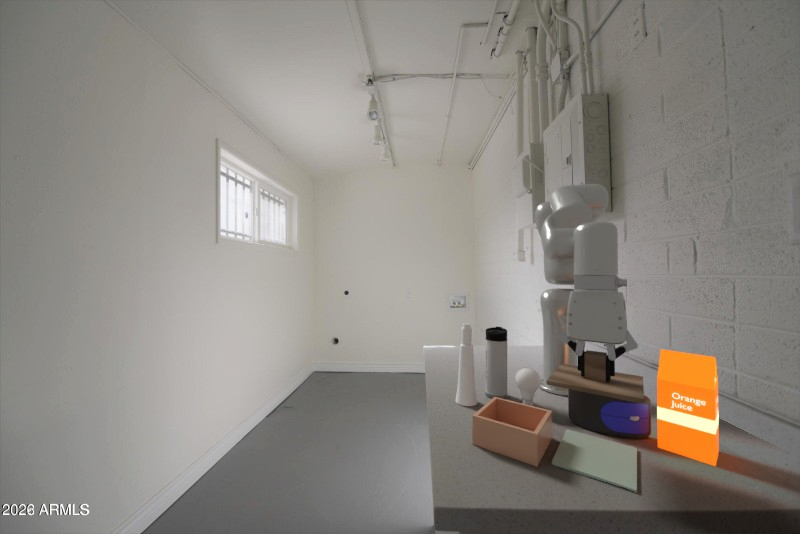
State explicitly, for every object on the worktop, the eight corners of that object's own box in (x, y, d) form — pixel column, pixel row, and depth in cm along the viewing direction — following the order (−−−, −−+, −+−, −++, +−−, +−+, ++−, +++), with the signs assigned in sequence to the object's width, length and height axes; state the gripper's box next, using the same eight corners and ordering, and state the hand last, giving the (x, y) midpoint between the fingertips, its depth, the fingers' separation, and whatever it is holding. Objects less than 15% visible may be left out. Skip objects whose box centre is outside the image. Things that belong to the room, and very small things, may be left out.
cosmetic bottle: (453, 404, 87) (453, 324, 88) (457, 396, 93) (457, 321, 93) (475, 408, 85) (476, 326, 86) (478, 399, 91) (478, 322, 91)
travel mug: (509, 394, 95) (509, 327, 96) (504, 401, 90) (504, 330, 90) (488, 390, 99) (488, 325, 99) (482, 397, 93) (482, 328, 93)
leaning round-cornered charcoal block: (568, 427, 75) (568, 387, 75) (568, 420, 79) (568, 381, 79) (654, 446, 67) (654, 401, 67) (650, 436, 71) (649, 394, 71)
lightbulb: (543, 415, 81) (543, 372, 81) (517, 412, 83) (517, 370, 83) (537, 405, 87) (537, 365, 88) (513, 403, 89) (513, 363, 89)
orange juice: (664, 435, 72) (663, 346, 72) (719, 451, 65) (718, 354, 66) (657, 447, 67) (656, 351, 67) (716, 467, 60) (715, 360, 60)
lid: (561, 369, 73) (561, 341, 74) (642, 383, 64) (642, 351, 65) (546, 387, 61) (546, 354, 62) (644, 407, 52) (643, 368, 53)
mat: (566, 431, 73) (566, 429, 73) (636, 450, 65) (636, 447, 65) (551, 464, 60) (551, 461, 60) (636, 493, 53) (636, 490, 53)
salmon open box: (494, 421, 78) (494, 396, 78) (552, 438, 70) (552, 410, 70) (472, 444, 67) (472, 415, 67) (537, 466, 60) (537, 434, 60)
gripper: (647, 285, 61) (648, 380, 61) (554, 283, 71) (554, 365, 71) (648, 286, 55) (649, 392, 55) (546, 284, 65) (546, 373, 65)
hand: (595, 376), depth 63 cm, fingers closed on lid, 3 cm apart
